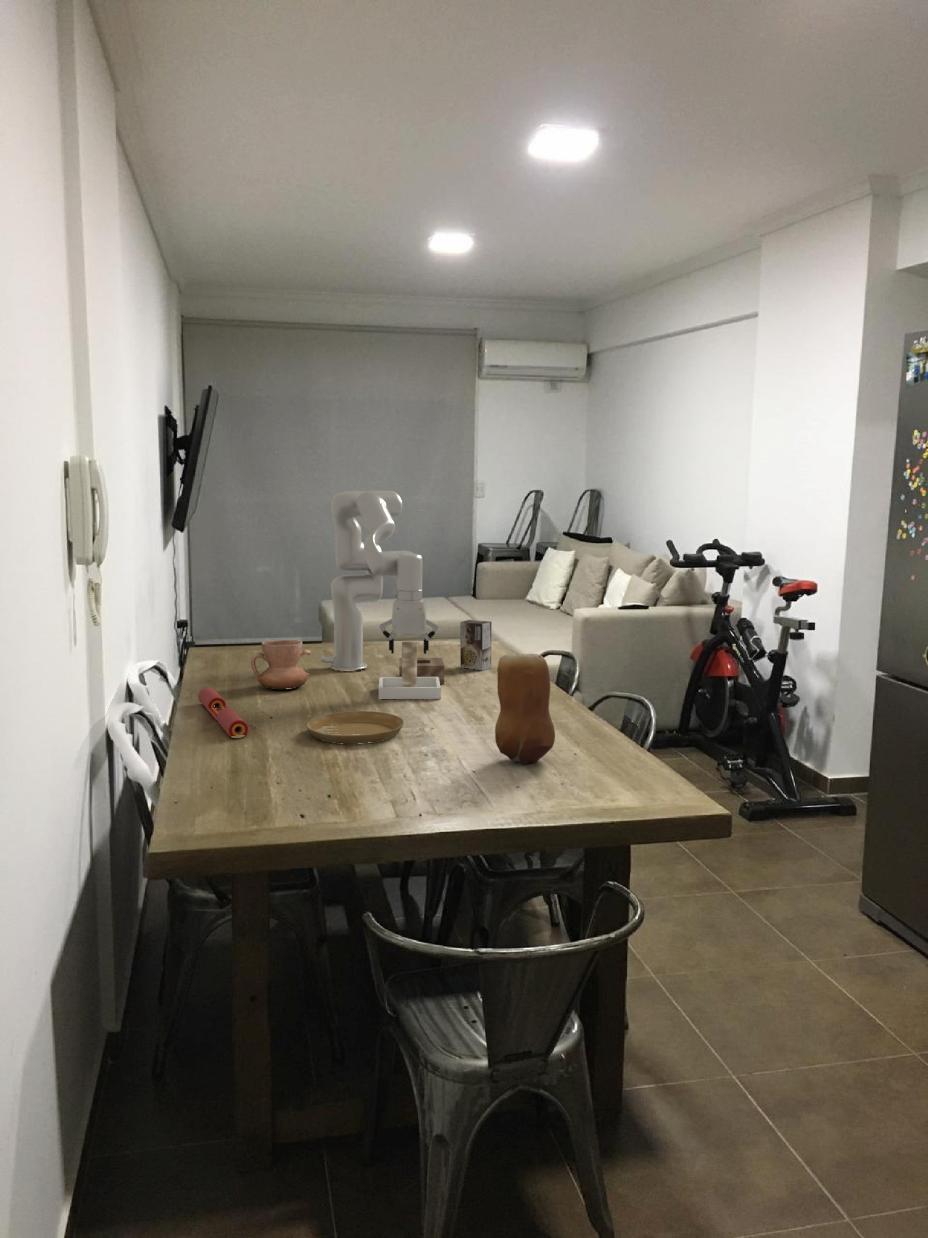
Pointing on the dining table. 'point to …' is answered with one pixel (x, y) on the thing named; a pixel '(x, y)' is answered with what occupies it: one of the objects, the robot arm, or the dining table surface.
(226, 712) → the blood vessel
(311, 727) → the plant saucer
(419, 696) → the tray
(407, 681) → the dowel
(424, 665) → the socket block
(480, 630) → the coffee box
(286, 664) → the ceramic jug
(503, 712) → the butternut squash
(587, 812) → the dining table surface
